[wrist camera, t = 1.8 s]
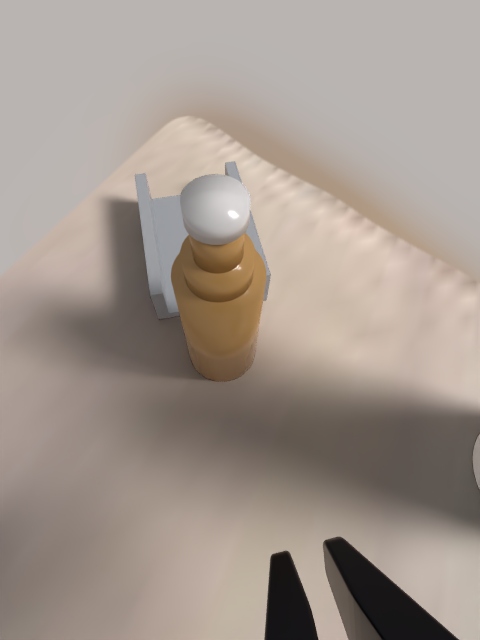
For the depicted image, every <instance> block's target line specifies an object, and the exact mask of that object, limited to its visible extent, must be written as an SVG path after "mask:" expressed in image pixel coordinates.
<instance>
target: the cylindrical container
mask: <svg viewBox="0 0 480 640" xmlns="http://www.w3.org/2000/svg"><path fill="white" fill-rule="evenodd" d="M472 459H473V470H474V474H475V478H476V482H477V485H478V487H479V489H480V434H479V435H478V437H477V440H476V442H475V445H474V450H473V458H472Z"/></svg>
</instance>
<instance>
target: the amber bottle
mask: <svg viewBox="0 0 480 640" xmlns="http://www.w3.org/2000/svg"><path fill="white" fill-rule="evenodd" d="M250 202H251V199H250V194H249V191H248V190H247V188H246V187H245V186H244V185H243V184H242V183H241V182H240V181H238V180H237V179H235V178H232V177H230V176H226V175H219V174H212V175H205V176H201V177H199V178H196V179H194V180H193V181H191V182H190V183H188V184H187V185H186V186H185V188H184V189H183V191H182V193H181V196H180V205H181V211H182V218H183V224H184V227H185V229H186V231H187V233H188V234H189V235H188V236H187V237H186V238H185V240H184V242H183V243H182V246H181V250H180V253H179V254H178V255H177V257H176V259H175V260H174V263H173V265H172V269H171V282H172V286H173V290H174V294H175V298H176V302H177V306H178V310H179V314H180V318H181V322H182V326H183V330H184V334H185V338H186V342H187V346H188V350H189V354H190V358H191V362H192V364H193V366H194V368H195V369H196V370H197V371H198V372H199V373H200V374H201V375H203V376H204V377H206V378H208V379H210V380H214V381H230V380H233V379H236V378H238V377H240V376H241V375H243V374H244V373H245V372H246V371H247V370H248V369H249V368H250V366H251V364H252V362H253V360H254V356H255V349H256V343H257V336H258V329H259V323H260V316H261V309H262V303H263V296H264V290H265V283H266V267H265V264H264V261H263V259H262V257H261V256H260V254H259V253H258V252H257V251H256V250H255V247H254V244H253V242H252V240H251V239H250V237H249V236H248V235H247V234H246V233H245V231H246V230H247V228H248V225H249V218H250Z"/></svg>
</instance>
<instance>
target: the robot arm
mask: <svg viewBox="0 0 480 640" xmlns="http://www.w3.org/2000/svg"><path fill="white" fill-rule="evenodd" d="M323 550H324V561H325V570H326V575H327V578H328V581H329V584H330V587H331V590H332V593H333V596H334V599H335V601H336V604H337V607H338V610H339V613H340V616H341V619H342V622H343V625H344V627H345V630H346V633H347V636H348V639H349V640H459V639H458V638H456V637H455V636H454V635H453V634H452V633H451V632H450V631H448V630H447V629H446V628H445V627H444V626H443V625H442V624H440V623H439V622H438V621H437V620H436V619H435V618H434V617H432V616H431V615H430V614H429V613H428V612H427V611H426V610H425V609H423V608H422V607H421V606H420V605H419V604H418V603H417V602H415V601H414V600H413V599H412V598H411V597H410V596H409V595H407V594H406V593H405V592H404V591H403V590H402V589H401V588H399V587H398V586H397V585H396V584H395V583H394V582H393V581H391V580H390V579H389V578H388V577H387V576H386V575H385V574H383V573H382V572H381V571H380V570H379V569H378V568H377V567H376V566H374V565H373V564H372V563H371V562H370V561H369V560H368V559H366V558H365V557H364V556H363V555H362V554H361V553H360V552H358V551H357V550H356V549H355V548H354V547H353V546H352V545H350V544H349V543H348V542H347V541H346V540H345V539H343V538H342V537H335V538H331V539H327V540H325V541H324V543H323ZM265 640H318V636H317V631H316V627H315V622H314V618H313V615H312V611H311V608H310V605H309V602H308V599H307V596H306V594H305V591H304V589H303V586H302V583H301V581H300V578H299V575H298V573H297V570H296V568H295V565H294V562H293V560H292V557H291V555H290V553H289V552H288V551H283V552H279V553H275V554H272V555H271V558H270V571H269V585H268V599H267V613H266V627H265Z"/></svg>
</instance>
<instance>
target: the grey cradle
mask: <svg viewBox="0 0 480 640" xmlns="http://www.w3.org/2000/svg"><path fill="white" fill-rule="evenodd" d="M225 175H226V176H230V177H232V178H235V179H237V180H238V181H240V182H241V178H240V175H239V172H238V169H237V166H236V163H235V161H234V162H226V163H225ZM135 181H136V189H137V197H138V204H139V212H140V220H141V228H142V236H143V244H144V251H145V259H146V267H147V275H148V283H149V291H150V297H151V299H152V302H153V305H154V308H155V310H156V313H157V316H158V319H165V318H170V317H176V316H180V314H179V310H178V306H177V302H176V298H175V294H174V290H173V286H172V282H171V269H172V265H173V263H174V260H175V259H176V257H177V255H178V254H179V253H180V250H181V246H182V243H183V242H184V240H185V238H186V237H187V236H188V235H189V234H188V233H187V231H186V229H185V227H184V224H183V218H182V211H181V205H180V196H181V195H177V196H170V197H162V198H155V199H152V198H151V194H150V190H149V186H148V182H147V178H146V174H145V173H143V174H135ZM241 183H242V182H241ZM245 233H246V234H247V235H248V236H249V237H250V239H251V240H252V242H253V244H254V247H255V250H256V251H257V252H258V253H259V254H260V256H261V257H262V259H263V261H264V264H265V267H266V283H265V290H264V296H263V301H265V300H267V294H268V288H269V282H270V276H271V274H270V271H269V268H268V265H267V261H266V258H265V255H264V252H263V249H262V245H261V242H260V239H259V236H258V233H257V230H256V226H255V223H254V220H253V217H252V214H251V210H250V218H249V225H248V228H247V230H246V231H245Z"/></svg>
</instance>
